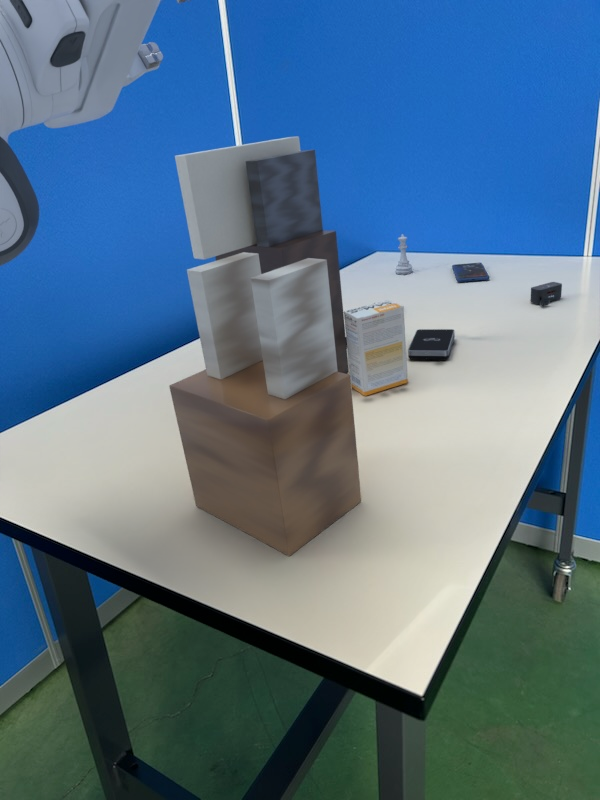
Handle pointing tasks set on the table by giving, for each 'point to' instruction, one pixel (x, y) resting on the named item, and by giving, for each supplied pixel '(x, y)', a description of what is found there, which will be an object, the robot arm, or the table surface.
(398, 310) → the supplement box
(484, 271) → the smartphone
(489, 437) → the table surface
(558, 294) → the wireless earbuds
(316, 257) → the bookstand
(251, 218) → the white book
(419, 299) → the table surface
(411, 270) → the chess piece
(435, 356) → the external hard drive
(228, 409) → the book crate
